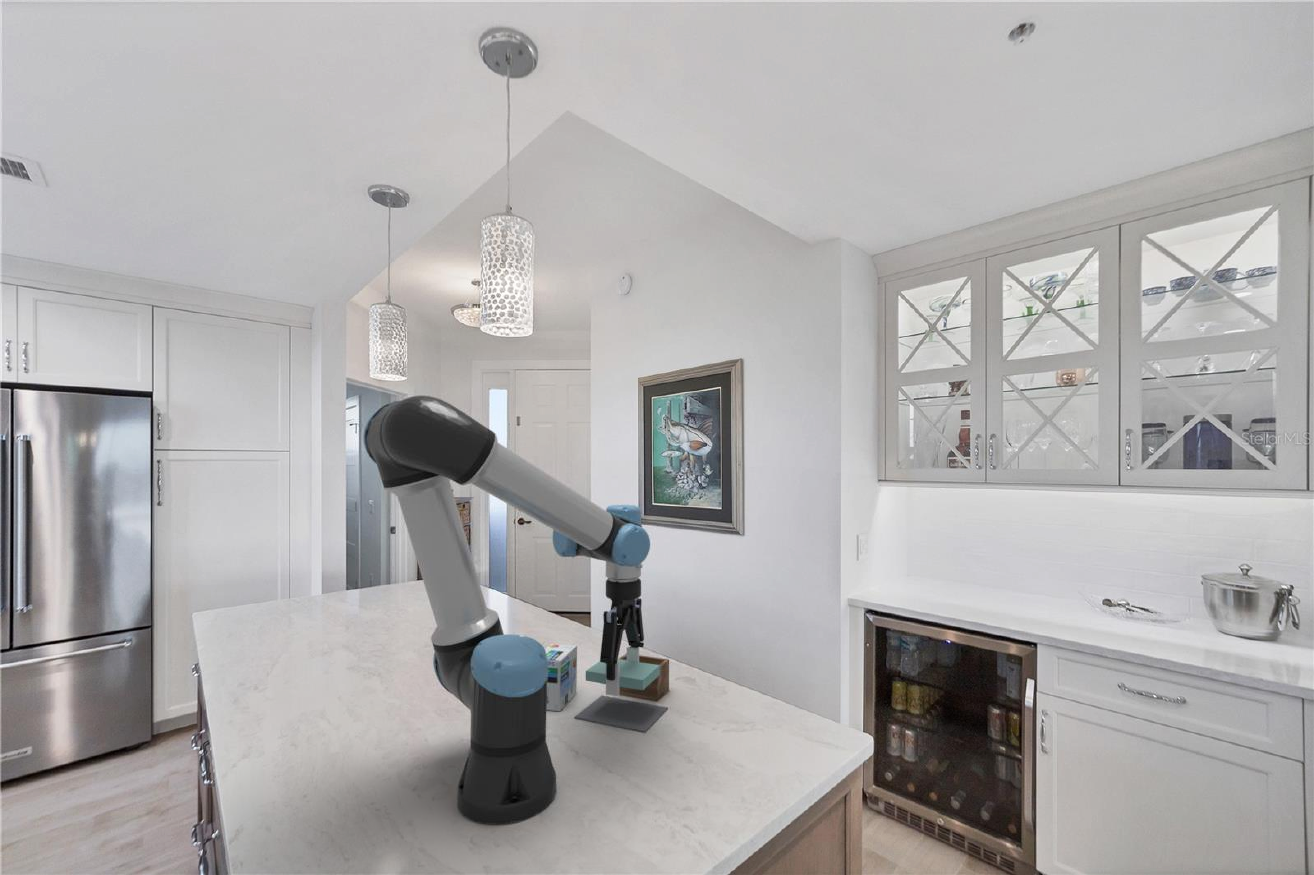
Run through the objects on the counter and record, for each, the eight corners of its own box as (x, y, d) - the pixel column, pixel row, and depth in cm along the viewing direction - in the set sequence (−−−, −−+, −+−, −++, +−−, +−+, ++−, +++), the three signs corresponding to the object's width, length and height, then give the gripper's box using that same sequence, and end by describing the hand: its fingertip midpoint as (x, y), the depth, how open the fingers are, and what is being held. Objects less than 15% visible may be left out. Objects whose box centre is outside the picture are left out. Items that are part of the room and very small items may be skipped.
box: (657, 701, 127) (657, 669, 127) (612, 693, 131) (613, 662, 131) (668, 690, 133) (669, 659, 134) (626, 683, 138) (626, 653, 138)
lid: (642, 695, 114) (642, 680, 115) (585, 685, 119) (585, 670, 120) (659, 679, 123) (659, 665, 123) (605, 670, 128) (605, 657, 128)
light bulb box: (560, 712, 121) (561, 660, 122) (530, 709, 123) (531, 658, 123) (577, 692, 132) (578, 645, 132) (549, 690, 133) (550, 643, 133)
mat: (645, 732, 112) (645, 731, 112) (574, 718, 118) (574, 716, 118) (668, 708, 123) (668, 707, 123) (601, 696, 129) (601, 695, 129)
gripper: (616, 590, 111) (615, 709, 110) (659, 570, 131) (659, 671, 130) (582, 587, 113) (581, 703, 113) (629, 568, 133) (629, 666, 133)
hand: (623, 686), depth 121 cm, fingers closed on lid, 9 cm apart
